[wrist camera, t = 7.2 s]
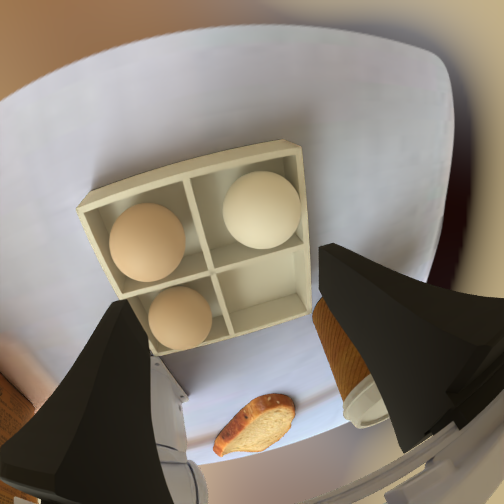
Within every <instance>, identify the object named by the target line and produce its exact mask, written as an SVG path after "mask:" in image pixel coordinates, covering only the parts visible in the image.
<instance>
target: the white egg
mask: <svg viewBox="0 0 504 504" xmlns="http://www.w3.org/2000/svg"><path fill="white" fill-rule="evenodd" d="M223 218H224V222H225V225H226V227H227V229H228V231H229V232H230V234H231V235H232V236H233V237H234V238H235V239H236V240H237V241H239V242H240V243H242V244H244V245H245V246H248V247H251V248H255V249H269V248H273V247H276V246H279V245H281V244H282V243H284V242H285V241H287V240H288V239H289V238H290V237H291V236H292V235H293V233H294V232H295V230H296V229H297V227H298V224H299V222H300V218H301V203H300V199H299V196H298V193H297V191H296V190H295V188H294V187H293V186H292V184H291V183H290V182H289V181H288V180H286V179H285V178H284V177H282V176H280V175H278V174H276V173H273V172H269V171H254V172H250V173H248V174H245V175H243V176H241V177H240V178H239V179H237V180H236V181H235V182H234V183H233V184H232V185H231V186H230V188H229V189H228V191H227V193H226V195H225V198H224V201H223Z"/></svg>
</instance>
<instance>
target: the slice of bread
mask: <svg viewBox="0 0 504 504" xmlns="http://www.w3.org/2000/svg"><path fill="white" fill-rule="evenodd" d="M294 417H295V406H294V403H293V401H292V399H291V398H290V397H288V396H286V395H282V394H274V393H273V394H267V395H263V396H259V397H257V398H255V399H253V400H252V401H251V402H250V403H248V404H247V405H246V406H245V407H244V408H242V409H241V410H240V411H239V412H238V413H237V414H236V415H235V416H234V417H233V419H232V420H231V421H230V422H229V423H228V424H227V425H226V426H225V427H224V429H223V430H222V431H221V432H220V434H219V435H218V436H217V438H216V440H215V444H214V447H213V451H214V452H215V453H216V454H217V455H218V456H220V457H223V455H225V454H228V453H230V452H235V451H245V452H261V451H263V450H265V449H266V448H268V447H269V446H271V445H272V444H274V443H275V442H277V441H279V440H280V438H281V437H283V436H284V435H285V433H287V432H288V430H289V429H290V428H291V422H292V420H293V418H294Z"/></svg>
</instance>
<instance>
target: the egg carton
mask: <svg viewBox="0 0 504 504" xmlns="http://www.w3.org/2000/svg"><path fill="white" fill-rule="evenodd" d="M254 171H269V172H273V173H276V174H278V175H280V176H282V177H284V178H285V179H286V180H288V181H289V182H290V183H291V184H292V186H293V187H294V188H295V190H296V191H297V193H298V196H299V199H300V203H301V218H300V222H299V224H298V227H297V229H296V230H295V232H294V233H293V235H292V236H291V237H290V238H289V239H288V240H287V241H285V242H284V243H282V244H281V245H279V246H276V247H273V248H269V249H255V248H251V247H248V246H245V245H244V244H242V243H240V242H239V241H237V240H236V239H235V238H234V237H233V236H232V235H231V234H230V232H229V231H228V229H227V227H226V225H225V222H224V218H223V201H224V198H225V195H226V193H227V191H228V189H229V188H230V186H231V185H232V184H233V183H234V182H235V181H236V180H237V179H239V178H240V177H241V176H243V175H245V174H248V173H250V172H254ZM141 203H155V204H159V205H162V206H164V207H166V208H167V209H169V210H170V211H172V212H173V213H174V214H175V215H176V216H177V218H178V219H179V221H180V222H181V224H182V226H183V229H184V233H185V239H186V244H185V252H184V255H183V258H182V260H181V262H180V264H179V265H178V267H177V268H176V269H175V270H174V271H173V272H172V273H171V274H169V275H168V276H167V277H165V278H163V279H160V280H157V281H153V282H142V281H137V280H134V279H132V278H130V277H128V276H127V275H125V274H124V273H123V272H121V271H120V269H119V268H118V267H117V266H116V264H115V262H114V261H113V258H112V256H111V252H110V247H109V238H110V233H111V229H112V227H113V225H114V223H115V221H116V219H117V218H118V217H119V216H120V215H121V214H122V213H123V212H124V211H125V210H126V209H128V208H130V207H131V206H134V205H137V204H141ZM76 211H77V214H78V216H79V219H80V221H81V223H82V226H83V228H84V230H85V233H86V235H87V237H88V239H89V241H90V244H91V246H92V248H93V250H94V252H95V254H96V256H97V258H98V260H99V262H100V264H101V266H102V268H103V270H104V272H105V274H106V276H107V278H108V280H109V282H110V284H111V285H112V287H113V289H114V291H115V293H116V294H117V296H118V298H119V300H123V299H127V300H128V302H129V304H130V305H131V307H132V309H133V311H134V313H135V314H136V316H137V318H138V320H139V321H140V323H141V325H142V327H143V328H144V330H145V332H146V333H147V335H148V340H149V348H150V350H151V351H152V353H153V354H154V356H155V357H157V356H162V355H166V354H171V353H175V352H179V351H184V350H175V349H171V348H168V347H166V346H164V345H163V344H161V343H160V342H159V341H158V340H157V339H156V338H155V336H154V335H153V333H152V331H151V329H150V326H149V320H148V314H149V309H150V306H151V303H152V302H153V300H154V299H155V297H156V296H157V295H158V294H159V293H160V292H162V291H163V290H165V289H168V288H170V287H174V286H184V287H188V288H191V289H194V290H196V291H197V292H199V293H200V294H201V295H202V296H203V297H204V298H205V299H206V301H207V302H208V304H209V306H210V309H211V312H212V326H211V330H210V332H209V334H208V336H207V337H206V339H205V340H204V341H203V342H202V343H201V344H199V345H198V346H196V347H200V346H204V345H208V344H212V343H215V342H219V341H223V340H226V339H230V338H234V337H237V336H241V335H244V334H248V333H251V332H254V331H258V330H261V329H264V328H268V327H271V326H274V325H277V324H280V323H283V322H287V321H290V320H293V319H296V318H299V317H302V316H305V315H308V314H311V313H312V297H311V267H310V246H309V229H308V214H307V201H306V189H305V177H304V167H303V157H302V147H301V146H299V145H296V144H294V143H292V142H289V141H287V140H284V139H280V140H274V141H269V142H263V143H258V144H253V145H248V146H243V147H239V148H234V149H229V150H225V151H221V152H216V153H212V154H208V155H204V156H200V157H196V158H193V159H189V160H185V161H181V162H178V163H174V164H171V165H167V166H164V167H161V168H157V169H154V170H151V171H148V172H144V173H141V174H138V175H135V176H132V177H129V178H126V179H123V180H120V181H118V182H115V183H112V184H109V185H106V186H104V187H101V188H98V189H96V190H93V191H91V192H89V193H88V194H87V195H86V197H85V198H84V199H83V200H82V201H81V203H80V204H79V205H78V206H77V208H76ZM196 347H194V348H196Z"/></svg>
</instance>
